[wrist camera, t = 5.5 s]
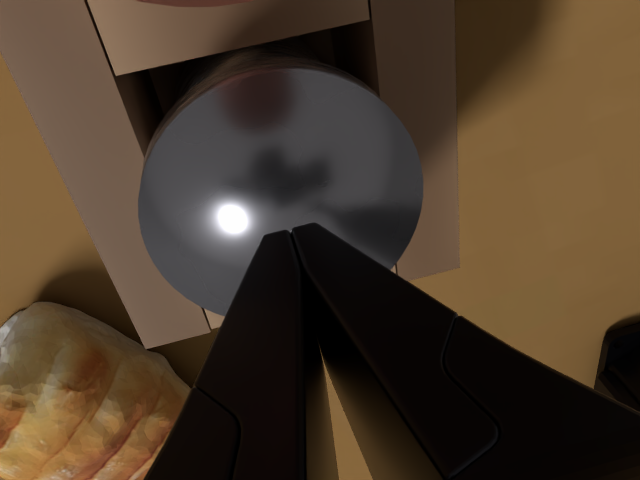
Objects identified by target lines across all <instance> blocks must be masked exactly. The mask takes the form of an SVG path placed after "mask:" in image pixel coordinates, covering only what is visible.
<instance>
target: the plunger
mask: <svg viewBox="0 0 640 480" xmlns="http://www.w3.org/2000/svg"><path fill="white" fill-rule="evenodd" d="M422 201H423V174H422V167H421V162H420V159H419V156H418V152H417V149H416V147H415V145H414V143H413V140H412V138H411V136H410V134H409V133H408V131H407V130H406V128H405V127H404V125H403V124H402V122H401V121H400V119H399V118H398V117H397V116H396V115H395V114H394V113H393V111H392V110H391V109H390V108H389V107H388V106H387V105H386V103H385V102H384V101H383V100H382V99H381V98H380V97H379V96H378V95H377V94H376V93H375V92H374V91H373V90H372V89H371V88H370V87H368V86H367V85H366V84H365V83H363V82H362V81H361V80H359V79H358V78H356V77H354V76H352V75H351V74H349V73H347V72H346V71H343V70H341V69H339V68H336V67H334V66H331V65H329V64H325V63H322V62H320V61H319V59H318V58H317V57H316V55H315V54H314V53H313V51H312V50H311V49H310V48H309V47H308V46H307V45H306V44H305V43H304V42H303V41H302V40H301V39H299V38H298V37H297V36H293V37H288V38H284V39H279V40H275V41H270V42H266V43H261V44H257V45H252V46H248V47H243V48H239V49H234V50H230V51H225V52H221V53H216V54H212V55H207V56H203V57H198V58H194V59H189V60H185V61H184V63H183V65H182V67H181V69H180V72H179V75H178V78H177V82H176V88H175V104H174V105H173V106H172V107H171V109H170V110H169V111H168V112H167V113H166V115H165V116H164V118H163V119H162V121H161V122H160V124H159V125H158V126H157V128H156V130H155V132H154V134H153V136H152V139H151V141H150V143H149V145H148V148H147V152H146V155H145V158H144V162H143V169H142V176H141V183H140V190H139V196H138V219H139V225H140V230H141V235H142V238H143V241H144V244H145V247H146V250H147V252H148V254H149V256H150V257H151V259H152V261H153V263H154V265H155V266H156V268H157V269H158V270H159V272H160V273H161V275H162V276H163V277H164V278H165V279H166V280H167V281H168V282H169V284H170V285H171V286H172V287H173V288H174V289H176V290H177V291H178V292H179V293H181V294H182V295H183V296H184V297H186V298H187V299H188V300H190V301H192V302H193V303H195V304H197V305H198V306H200V307H202V308H204V309H206V310H209V311H211V312H213V313H215V314H218V315H221V316H225V315H226V313H227V311H228V309H229V307H230V305H231V303H232V300H233V298H234V296H235V294H236V292H237V290H238V288H239V285H240V283H241V281H242V279H243V277H244V275H245V273H246V270H247V268H248V266H249V264H250V262H251V260H252V258H253V255H254V253H255V251H256V249H257V247H258V245H259V243H260V240H261V238H262V237H263V236H264V235H265V234H269V233H273V232H277V231H281V230H288V231H289V232H290V234H291V229H292V228H294V227H297V226H301V225H305V224H309V223H313V222H315V223H318V224H319V225H321V226H323V227H324V228H326V229H327V230H329V231H330V232H332V233H333V234H335V235H337V236H338V237H340V238H341V239H343V240H344V241H346V242H347V243H349V244H351V245H352V246H354V247H355V248H357V249H358V250H360V251H361V252H363V253H364V254H366V255H368V256H369V257H371V258H372V259H374V260H375V261H377V262H378V263H380V264H382V265H383V266H385V267H386V268H388V269H389V270H391V269H392V268H393V267H394V265H395V264H396V263H397V261H398V260H399V259H400V257H401V256H402V255H403V253H404V251H405V250H406V248H407V246H408V244H409V243H410V241H411V239H412V236H413V234H414V232H415V229H416V227H417V224H418V220H419V217H420V213H421V208H422Z"/></svg>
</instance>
